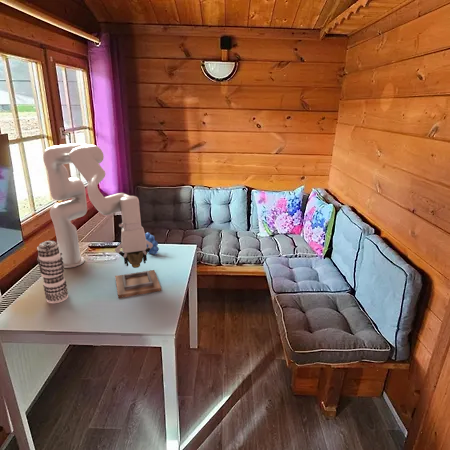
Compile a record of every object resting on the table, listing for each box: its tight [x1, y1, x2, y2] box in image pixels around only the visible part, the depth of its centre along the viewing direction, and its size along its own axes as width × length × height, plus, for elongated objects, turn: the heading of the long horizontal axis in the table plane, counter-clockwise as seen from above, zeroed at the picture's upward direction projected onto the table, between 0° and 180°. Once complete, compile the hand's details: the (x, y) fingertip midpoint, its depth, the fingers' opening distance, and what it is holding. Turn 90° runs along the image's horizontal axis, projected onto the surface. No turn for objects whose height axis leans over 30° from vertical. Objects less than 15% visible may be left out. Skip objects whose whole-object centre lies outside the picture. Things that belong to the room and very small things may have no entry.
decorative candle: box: [36, 240, 69, 305], centre depth 143 cm, size 9×9×25 cm
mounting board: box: [114, 269, 162, 299], centre depth 158 cm, size 18×18×3 cm
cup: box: [127, 251, 143, 269], centre depth 154 cm, size 8×7×8 cm
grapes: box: [145, 231, 160, 255], centre depth 187 cm, size 12×7×12 cm, turn 54°
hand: (135, 263), depth 154 cm, fingers closed on cup, 6 cm apart
